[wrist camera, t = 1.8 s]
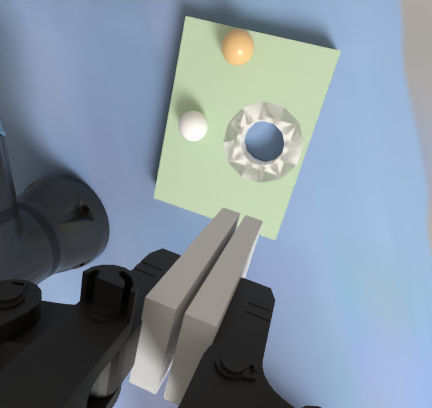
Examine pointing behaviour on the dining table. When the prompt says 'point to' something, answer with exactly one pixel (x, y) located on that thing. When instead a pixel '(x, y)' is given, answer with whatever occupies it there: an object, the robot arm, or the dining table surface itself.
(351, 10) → the dining table surface
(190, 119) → the white ball
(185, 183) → the putting mat
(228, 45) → the orange ball
